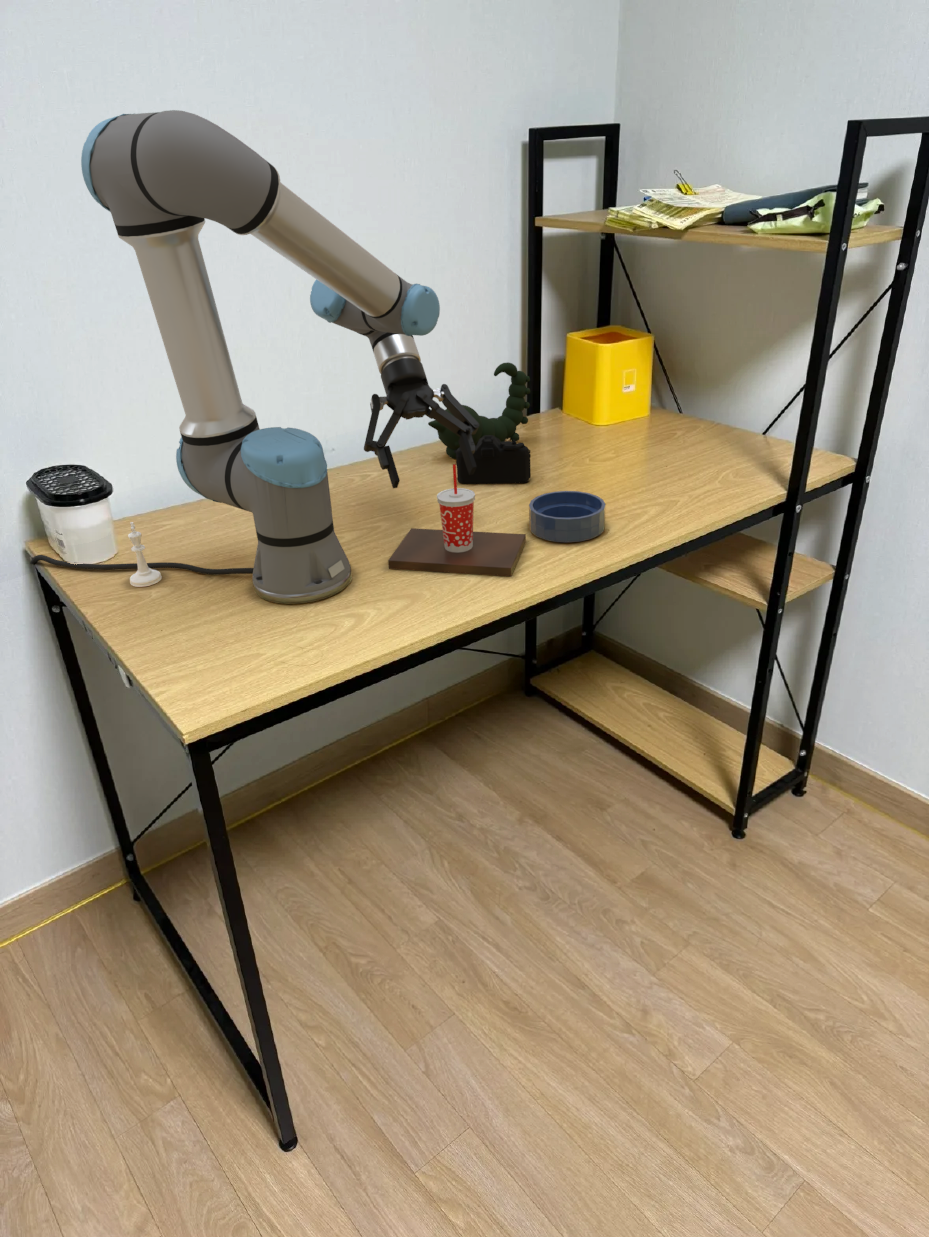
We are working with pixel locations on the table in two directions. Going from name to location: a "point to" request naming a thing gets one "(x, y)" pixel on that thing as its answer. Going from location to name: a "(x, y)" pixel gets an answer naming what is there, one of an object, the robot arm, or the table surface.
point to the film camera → (496, 462)
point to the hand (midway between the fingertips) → (435, 477)
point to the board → (484, 558)
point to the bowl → (567, 516)
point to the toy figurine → (494, 426)
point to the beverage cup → (457, 517)
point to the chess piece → (141, 563)
